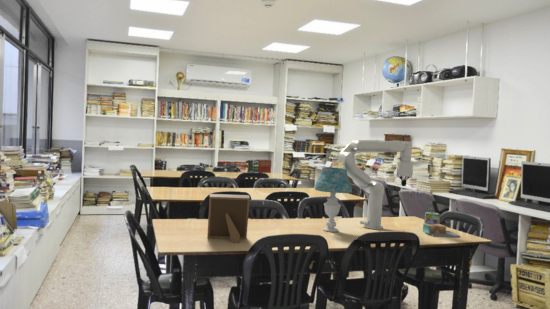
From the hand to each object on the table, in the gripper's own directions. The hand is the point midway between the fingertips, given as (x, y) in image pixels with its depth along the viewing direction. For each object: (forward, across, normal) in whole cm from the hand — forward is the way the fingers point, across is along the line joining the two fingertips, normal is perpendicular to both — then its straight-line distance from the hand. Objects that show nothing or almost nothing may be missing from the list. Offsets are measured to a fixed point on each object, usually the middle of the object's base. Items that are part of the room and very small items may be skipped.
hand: (403, 186), depth 320 cm
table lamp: (+29, -53, -17) cm, 63 cm away
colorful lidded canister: (+29, +21, -2) cm, 36 cm away
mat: (+29, +21, -17) cm, 40 cm away
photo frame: (+29, -119, -52) cm, 133 cm away
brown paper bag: (+26, +10, -17) cm, 32 cm away
